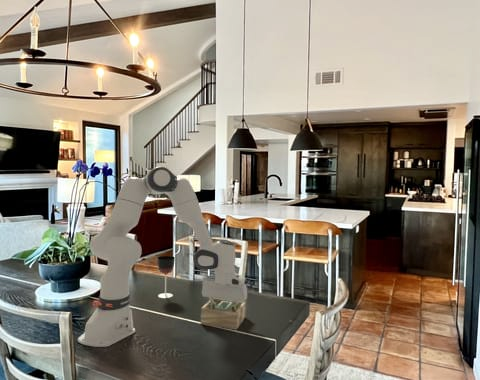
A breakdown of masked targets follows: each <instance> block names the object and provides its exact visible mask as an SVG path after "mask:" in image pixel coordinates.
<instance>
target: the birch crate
mask: <svg viewBox="0 0 480 380" xmlns="http://www.w3.org/2000/svg"><path fill="white" fill-rule="evenodd" d="M213 300H214V302H215V303H216V306H217V305H218V304H219V303H220V302H221V301H227V302H233V305H235V304H236V303H235V301H234V300H226V299H219V298H214V299H213ZM233 305H232V306H233ZM246 307H247V301H244V302H241V301H239V303H238V304H237V306H236V310H232V311H225V310H218V309H215V308H214V307H212V303H211V302H210V300H208V301H207V302H206V303H205V304H204V305H203V306H201V308H200V325H203V324H205V325H204V326H210V325H211V327H217V328H223V327H224V329H231V330H237V329H238V328H239V327H240V325H241V324H242V322H243V321H244V319H246V312H247V310H246V309H247V308H246Z"/></svg>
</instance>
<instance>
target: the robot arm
mask: <svg viewBox="0 0 480 380" xmlns="http://www.w3.org/2000/svg"><path fill="white" fill-rule="evenodd" d="M162 194H164V195H166V196H168V198H169V199H170V201H171V203H172V207H173V210H174V212H175V215H176V216H177V217H178V219H179V221H181V222H183V224H187V225H188V226H189V227H191V229H192V230H193V232H194V235H195V237H196V239H197V242H198V243H199V249H197V250H196V251H195V252H194V255H193V258H192V259H193V264H194V265H195V267H196V268H198V269H199V270H202V271H208V270H214V275H204V276H203V277H202V289H201V295H202V297H204V298H208V299H209V300H208V301H210V302H211V303H212V307H214V308H215V307H216V303H215V302H214V300H213V299H214V298H219V299H226V300H234V301H235V303H236V304H235V305H233V306H232V310H236V306H237V304H238V303H239V301H241V302H246V300H247V298H248V287H247V285H246V283H245V282H246V277H245V276H243V275H241V274H239V273H237V272H236V269H235V263H236V248H235V244H234V243H233V242H231V241H229V240H226V239H219V240H217V241H216V242H215V240H214V239H213V237H212V236H211V233H210V230H209V229H208V225H207V223H206V221H205V219H204V215H203V212H202V210H201V206H200V203H199V200H198V197H197V195H196V192H195V191H194V188H193V185H191V182H190V181H189V180H188V179H187V178H184V177H177V175H176V174H174V173H173V172H172V171H171V170H170V169H168V168H167V167H164V166H155V167H154V168H152V169H151V170H149V171H148V172H147V173H146V175H145V176H144V177H143V178H140V177H137V176H131V177H128V178H126V179H125V180H124V182H123V185H122V186H121V188H120V191H119V193H118V195H117V197H116V200H115V203H114V207H113V208H112V209H113V210H112V212H111V215H110V216H109V219H108V220H107V222H106V223H105V225H104V226H103V228H102V229H101V230H100V231H99V232H98V233H97V234H96V235H94V236H93V237H92V239H91V240H90V243H89V250H90V252H91V253H92V255H94V256H95V257H97V258H99V259H100V260H103V261H107V269H106V270H105V272H104V273H103V274H102V275H101V277H100V282H99V283H100V288H99V289H100V293H99V296H98V297H99V298H98V300H93V301H92V302H93V303H92V306H93V307H96V309H95V310H94V311H93V312H92V313H93V314H91V316H90V318H89V319H88V320H87V322H86V324H85V328H84V332H83V334H81V335H80V336H79V337H78V338H77V342H78V344H79V343H80V344H82V345H84V346H90V347H96V348H97V347H98V348H103V347H104V348H106V347H109V346H111V345H114V344H116V343H117V342H120V341H122V340H123V339H125V338H127V337H129V336H131V335H133V334H134V333H136V328H135V327H134V321H133V312H132V309H131V306H130V304H131V294H130V276H131V271H132V269H133V267H134V265H135V264H136V263H137V262H138V261H139V260H140V258H141V255H142V252H143V251H142V246H141V243H140V242H139V241H137V240H136V239H134V238H132V237H129V236H127V235H128V234H129V232H130V231H131V230H132V229H133V228H135V227H136V226H137V225H138V224H139V221H140V218H141V215H142V211H143V209H144V205H145V201H146V199H147V197H148V196H153V197H154V196H155V197H156V196H160V195H162Z"/></svg>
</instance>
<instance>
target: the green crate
mask: <svg viewBox="0 0 480 380" xmlns="http://www.w3.org/2000/svg"><path fill="white" fill-rule="evenodd" d="M232 305H233V302H227V301H221V302H220V303H219V304H218V305H217V306H216V307H215V309H218V310H225V311H232Z"/></svg>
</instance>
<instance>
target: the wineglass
mask: <svg viewBox="0 0 480 380" xmlns="http://www.w3.org/2000/svg"><path fill="white" fill-rule="evenodd" d="M157 267H158V271H159V272H160V273H161V274H164V293H159V294H158V298H161V299H169V298H173V296H174V295H173V294H172V293H168V292H167V278H168V277H167V276H168V274H170V273H172V271H173V270H174V267H175V256H172V255H171V256H170V255H161V256H158V257H157Z"/></svg>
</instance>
